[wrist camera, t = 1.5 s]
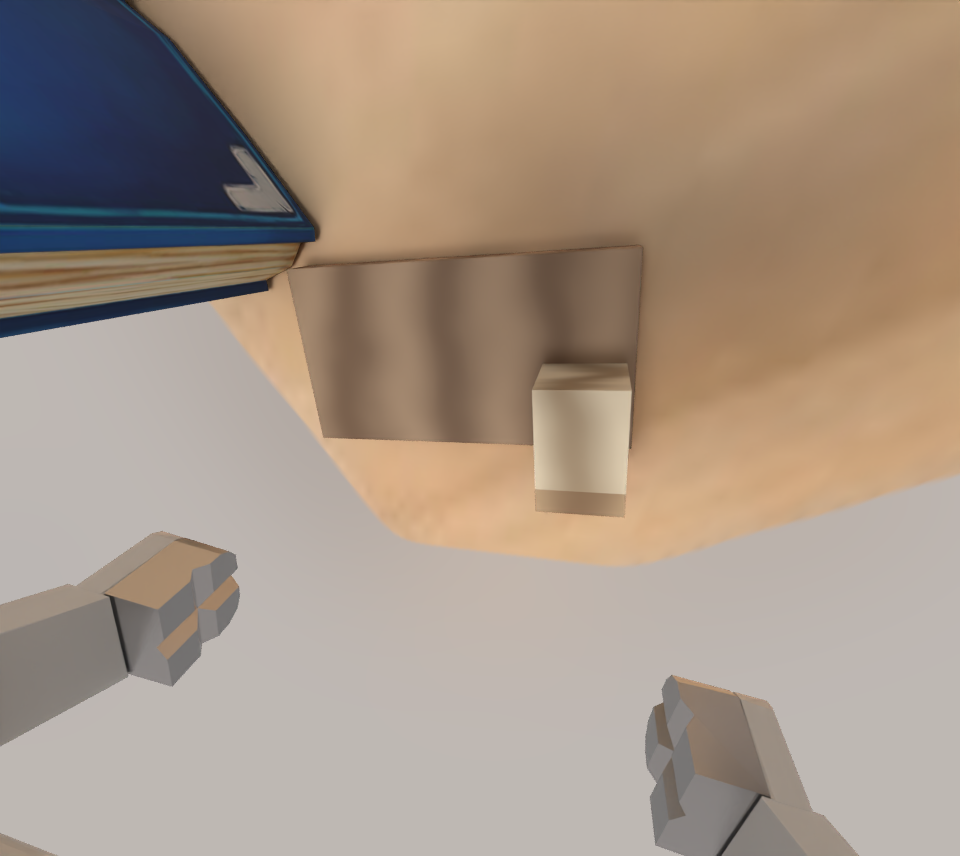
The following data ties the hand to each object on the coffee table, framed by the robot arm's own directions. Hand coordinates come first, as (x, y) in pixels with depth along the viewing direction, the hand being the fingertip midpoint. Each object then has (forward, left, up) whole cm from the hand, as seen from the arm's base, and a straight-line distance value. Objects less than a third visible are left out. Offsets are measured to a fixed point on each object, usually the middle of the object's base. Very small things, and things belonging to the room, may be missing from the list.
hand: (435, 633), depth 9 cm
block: (-2, +5, -25) cm, 25 cm away
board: (+6, +1, -25) cm, 26 cm away
